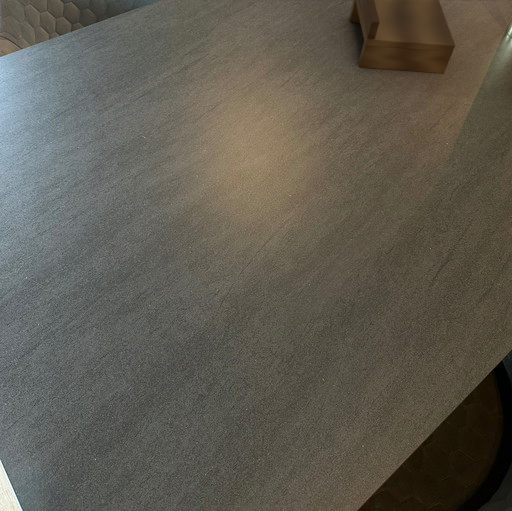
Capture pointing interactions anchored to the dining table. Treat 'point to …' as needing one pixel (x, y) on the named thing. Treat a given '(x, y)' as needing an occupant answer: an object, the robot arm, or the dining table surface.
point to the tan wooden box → (403, 35)
